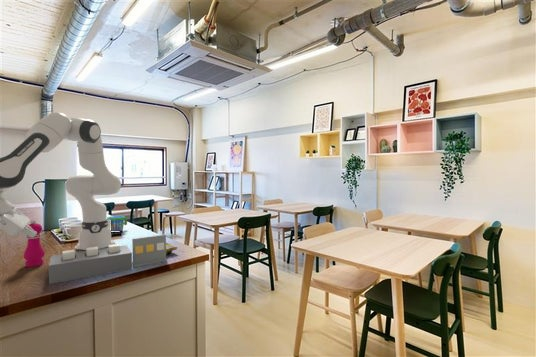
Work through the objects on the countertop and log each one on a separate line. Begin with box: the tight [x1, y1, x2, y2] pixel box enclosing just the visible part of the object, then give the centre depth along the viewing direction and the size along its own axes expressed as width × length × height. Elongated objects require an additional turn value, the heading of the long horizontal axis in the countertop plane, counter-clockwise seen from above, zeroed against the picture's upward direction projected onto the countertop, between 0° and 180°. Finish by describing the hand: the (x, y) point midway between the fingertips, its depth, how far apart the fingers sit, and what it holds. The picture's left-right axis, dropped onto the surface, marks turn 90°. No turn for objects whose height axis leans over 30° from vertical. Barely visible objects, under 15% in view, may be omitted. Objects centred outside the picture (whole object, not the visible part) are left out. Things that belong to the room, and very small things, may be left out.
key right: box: [107, 243, 121, 253], centre depth 122 cm, size 4×4×4 cm
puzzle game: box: [166, 242, 178, 255], centre depth 144 cm, size 12×5×20 cm
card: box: [132, 234, 168, 268], centre depth 128 cm, size 5×14×12 cm, turn 124°
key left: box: [61, 249, 76, 260], centre depth 113 cm, size 4×4×4 cm
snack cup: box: [107, 215, 128, 232], centre depth 188 cm, size 16×10×10 cm
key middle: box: [85, 247, 98, 256], centre depth 118 cm, size 4×4×4 cm
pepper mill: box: [23, 219, 46, 268], centre depth 125 cm, size 7×7×20 cm
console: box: [48, 244, 133, 285], centre depth 118 cm, size 14×28×7 cm, turn 124°
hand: (35, 235), depth 107 cm, fingers closed
